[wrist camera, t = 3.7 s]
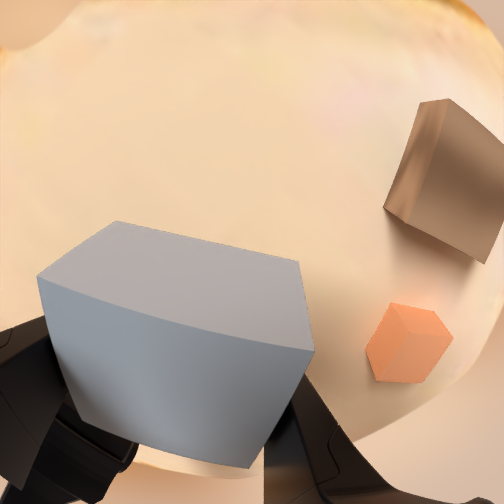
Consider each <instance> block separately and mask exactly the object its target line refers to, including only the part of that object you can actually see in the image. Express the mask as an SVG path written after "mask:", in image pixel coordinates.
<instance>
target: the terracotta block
mask: <svg viewBox="0 0 504 504" xmlns="http://www.w3.org/2000/svg"><path fill="white" fill-rule="evenodd" d="M453 339H454V338H453V336H452V335H451V333H450V332H449V331H448V329H447V328H446V327H445V325H444V324H443V323H442V321H441V320H440V319H439V317H438V316H437V315H436V313H435V312H434V311H429V310H424V309H419V308H414V307H410V306H405V305H400V304H396V303H390V305H389V307H388V309H387V311H386V313H385V315H384V317H383V319H382V321H381V322H380V324H379V326H378V328H377V330H376V331H375V333H374V335H373V337H372V338H371V340H370V342H369V344H368V345H367V347H366V349H365V350H366V353H367V356H368V359H369V361H370V364H371V367H372V370H373V373H374V375H375V378H376V381H384V382H406V383H422V382H423V381H424V380H425V378H426V377H427V376H428V374H429V373H430V372H431V370H432V369H433V368H434V366H435V365H436V364H437V362H438V361H439V359H440V358H441V356H442V355H443V354H444V352H445V351H446V349H447V348H448V346H449V345H450V343H451V342H452V340H453Z"/></svg>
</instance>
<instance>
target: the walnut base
mask: <svg viewBox="0 0 504 504" xmlns="http://www.w3.org/2000/svg"><path fill="white" fill-rule="evenodd" d="M383 207H384V208H385V209H387V210H388V211H390V212H391V213H392V214H394V215H395V216H397V217H398V218H400V219H401V220H403V221H404V222H405V223H407V224H409V225H411V226H413V227H415V228H417V229H419V230H421V231H423V232H425V233H427V234H429V235H431V236H433V237H435V238H437V239H439V240H441V241H443V242H445V243H447V244H449V245H451V246H452V247H454V248H456V249H458V250H460V251H462V252H463V253H465V254H467V255H469V256H471V257H472V258H474V259H476V260H478V261H479V262H481V263H483V264H485V262H486V260H487V258H488V256H489V254H490V252H491V249H492V247H493V245H494V243H495V240H496V238H497V236H498V233H499V231H500V229H501V226H502V224H503V221H504V144H502V143H501V142H500V141H499V140H498V139H497V138H496V137H495V136H494V135H493V134H492V133H491V132H490V131H489V130H488V129H486V128H485V127H484V126H483V125H482V124H481V123H480V122H478V121H477V120H476V119H475V118H474V117H472V116H471V115H470V114H469V113H468V112H466V111H465V110H464V109H462V108H461V107H460V106H459V105H457V104H456V103H455V102H453V101H452V100H451V99H443V100H436V101H429V102H423V103H420V105H419V108H418V111H417V115H416V118H415V121H414V124H413V128H412V131H411V134H410V137H409V140H408V143H407V146H406V149H405V151H404V154H403V157H402V160H401V163H400V165H399V168H398V171H397V173H396V176H395V179H394V181H393V184H392V186H391V189H390V191H389V194H388V196H387V199H386V201H385V204H384V206H383Z"/></svg>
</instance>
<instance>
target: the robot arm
mask: <svg viewBox="0 0 504 504" xmlns="http://www.w3.org/2000/svg"><path fill="white" fill-rule="evenodd" d="M138 446H139V443H136V442H133V441H130V440H128V439H125V438H122V437H120V436H117V435H115V434H112V433H110V432H107V431H105V430H102V429H100V428H98V427H96V426H93V425H91V424H89V423H87V422H85V421H82V419H81V417H80V415H79V413H78V411H77V408H76V406H75V404H74V402H73V399H72V397H71V395H70V392H69V390H68V387H67V385H66V382H65V379H64V377H63V374H62V371H61V369H60V366H59V363H58V360H57V357H56V354H55V351H54V347H53V344H52V341H51V337H50V334H49V330H48V327H47V323H46V319H45V315H44V316H41V317H38V318H36V319H33V320H31V321H28V322H25V323H23V324H20V325H18V326H15V327H13V328H10V329H7V330H5V331H2V332H0V475H1V476H2V477H3V478H5V479H6V480H7V481H8V483H7V485H6V487H5V489H4V491H3V494H2V496H1V498H0V504H68V503H72V502H76V501H79V500H82V501H84V502H86V503H88V504H95V503H97V502H99V501H101V500H102V499H103V498H104V496H105V493H106V492H107V490H108V488H109V486H110V484H111V482H112V480H113V479H114V477H115V476H116V474H117V473H121V472H123V471H125V470H126V469H127V467H128V466H129V465H130V464H131V462H132V461H133V459H134V457H135V455H136V453H137V450H138ZM264 504H452V503H446V502H441V501H437V500H432V499H428V498H424V497H421V496H417V495H413V494H410V493H406V492H403V491H400V490H398V489H396V488H394V487H393V486H391V485H390V484H389V483H387V482H386V481H385V480H384V479H383V478H382V476H380V474H379V473H378V472H377V471H376V470H375V469H374V468H373V467H372V466H371V464H370V463H369V462H368V461H367V460H366V459H365V458H364V457H363V456H362V455H361V453H360V452H359V451H358V450H357V448H356V447H355V446H354V445H353V443H352V442H351V441H350V439H349V438H348V437H347V435H346V434H345V433H344V431H343V430H342V428H341V427H340V425H338V422H337V421H336V420H335V418H334V417H333V415H332V414H331V412H330V411H329V409H328V408H327V406H326V405H325V403H324V402H323V400H322V399H321V397H320V396H319V394H318V393H317V391H316V390H315V388H314V387H313V385H312V384H311V382H310V381H309V379H308V378H307V376H306V375H305V373H304V374H303V376H302V378H301V380H300V382H299V384H298V386H297V388H296V390H295V392H294V394H293V395H292V397H291V399H290V401H289V403H288V405H287V406H286V408H285V410H284V412H283V414H282V415H281V417H280V419H279V421H278V422H277V424H276V426H275V428H274V429H273V431H272V433H271V434H270V436H269V438H268V439H267V441H266V443H265V444H264ZM461 504H494V503H493V502H491V501H489V500H487V499H483V498H480V497H477V498H474V499H472V500H470V501H468V502H466V503H461Z"/></svg>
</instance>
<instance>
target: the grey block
mask: <svg viewBox="0 0 504 504" xmlns="http://www.w3.org/2000/svg"><path fill="white" fill-rule="evenodd" d="M37 282H38V287H39V292H40V297H41V302H42V306H43V311H44V315H45V319H46V323H47V327H48V330H49V334H50V337H51V341H52V344H53V347H54V351H55V354H56V357H57V360H58V363H59V366H60V369H61V371H62V374H63V377H64V379H65V382H66V385H67V387H68V390H69V392H70V395H71V397H72V399H73V402H74V404H75V406H76V408H77V411H78V413H79V415H80V417H81V419H82V421H85V422H87V423H89V424H91V425H93V426H96V427H98V428H100V429H102V430H105V431H107V432H110V433H112V434H115V435H117V436H120V437H122V438H125V439H128V440H130V441H133V442H136V443H139V444H142V445H145V446H148V447H151V448H154V449H158V450H161V451H164V452H168V453H171V454H175V455H179V456H183V457H187V458H191V459H195V460H200V461H205V462H210V463H215V464H220V465H226V466H232V467H239V468H246V469H249V468H250V466H251V465H252V463H253V462H254V460H255V459H256V457H257V455H258V454H259V452H260V451H261V449H262V447H263V446H264V444H265V443H266V441H267V439H268V438H269V436H270V434H271V433H272V431H273V429H274V428H275V426H276V424H277V422H278V421H279V419H280V417H281V415H282V414H283V412H284V410H285V408H286V406H287V405H288V403H289V401H290V399H291V397H292V395H293V394H294V392H295V390H296V388H297V386H298V384H299V382H300V380H301V378H302V376H303V374H304V372H305V370H306V368H307V366H308V364H309V362H310V360H311V358H312V356H313V354H314V352H315V349H314V343H313V337H312V331H311V326H310V320H309V315H308V309H307V304H306V298H305V293H304V288H303V283H302V278H301V273H300V268H299V263H298V261H294V260H290V259H285V258H281V257H277V256H272V255H268V254H263V253H259V252H254V251H250V250H245V249H241V248H236V247H232V246H227V245H223V244H218V243H214V242H210V241H205V240H201V239H196V238H192V237H187V236H183V235H178V234H174V233H169V232H165V231H160V230H156V229H151V228H147V227H142V226H138V225H133V224H129V223H124V222H120V221H115V222H113V223H112V224H110V225H108V226H107V227H105V228H104V229H102V230H101V231H99V232H98V233H96V234H95V235H93V236H91V237H90V238H88V239H87V240H86V241H84V242H83V243H81V244H80V245H78V246H77V247H75V248H74V249H72V250H71V251H70V252H68V253H67V254H65V255H64V256H63V257H61V258H60V259H58V260H57V261H56V262H54V263H53V264H52V265H50V266H49V267H48V268H46V269H45V270H44V271H42V272H41V273H40V274H38V275H37Z"/></svg>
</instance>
